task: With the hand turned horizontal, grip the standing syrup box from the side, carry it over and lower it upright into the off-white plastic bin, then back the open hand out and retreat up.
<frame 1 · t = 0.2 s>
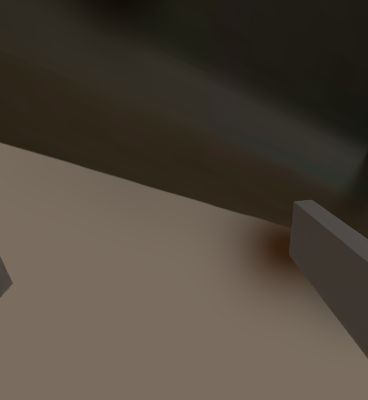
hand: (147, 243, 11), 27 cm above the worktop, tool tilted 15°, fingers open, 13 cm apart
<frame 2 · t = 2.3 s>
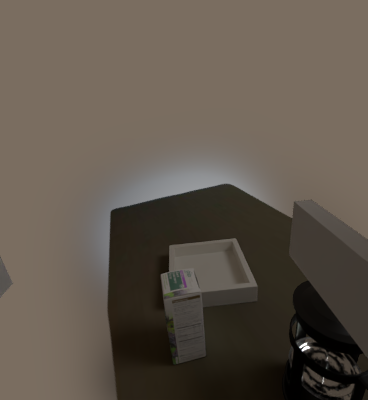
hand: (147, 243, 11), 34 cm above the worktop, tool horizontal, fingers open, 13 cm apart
syrup box: (187, 346, 42), on the worktop
bin: (208, 276, 58), on the worktop
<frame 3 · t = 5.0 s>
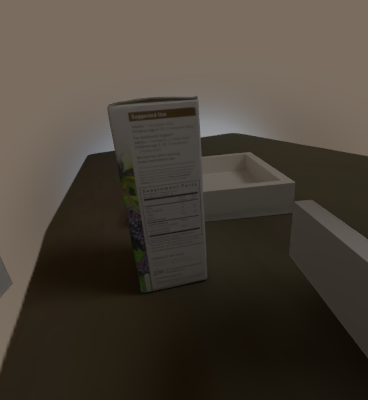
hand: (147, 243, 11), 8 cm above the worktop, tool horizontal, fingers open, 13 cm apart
syrup box: (172, 268, 22), on the worktop
bin: (210, 194, 38), on the worktop
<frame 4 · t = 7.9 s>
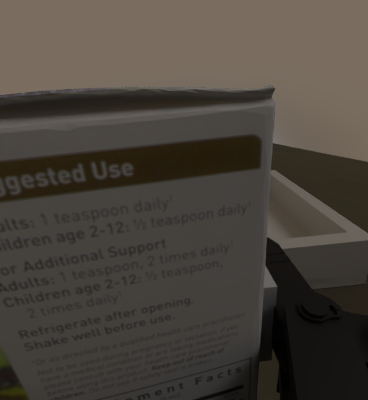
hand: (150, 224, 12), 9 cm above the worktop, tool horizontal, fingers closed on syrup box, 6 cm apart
bin: (224, 234, 27), on the worktop
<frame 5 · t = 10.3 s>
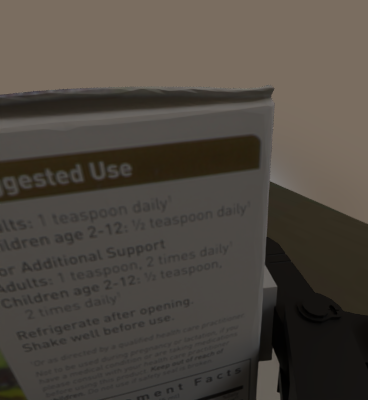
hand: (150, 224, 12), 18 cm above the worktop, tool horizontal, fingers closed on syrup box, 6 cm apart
bin: (226, 399, 20), on the worktop
when the fingers open (10 cm above the worktop, at t = 13.0 s): syrup box stays where it is, resting on bin.
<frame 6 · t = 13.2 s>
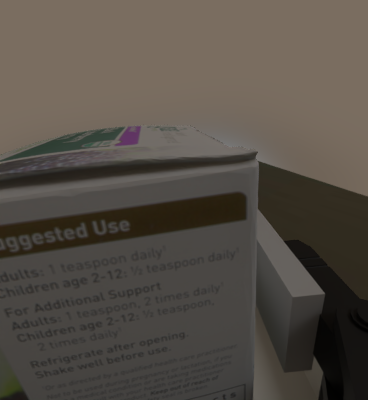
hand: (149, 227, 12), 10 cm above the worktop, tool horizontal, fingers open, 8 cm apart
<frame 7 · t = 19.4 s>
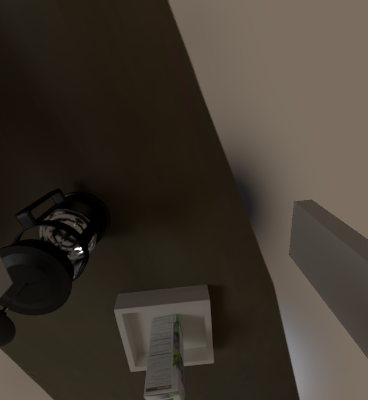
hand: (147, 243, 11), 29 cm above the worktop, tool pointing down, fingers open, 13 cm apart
syrup box: (167, 324, 51), point 1 cm above the worktop, touching bin
bin: (167, 321, 52), on the worktop
french press: (81, 214, 41), on the worktop
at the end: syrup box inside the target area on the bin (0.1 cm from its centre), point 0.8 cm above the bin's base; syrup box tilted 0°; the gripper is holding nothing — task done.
